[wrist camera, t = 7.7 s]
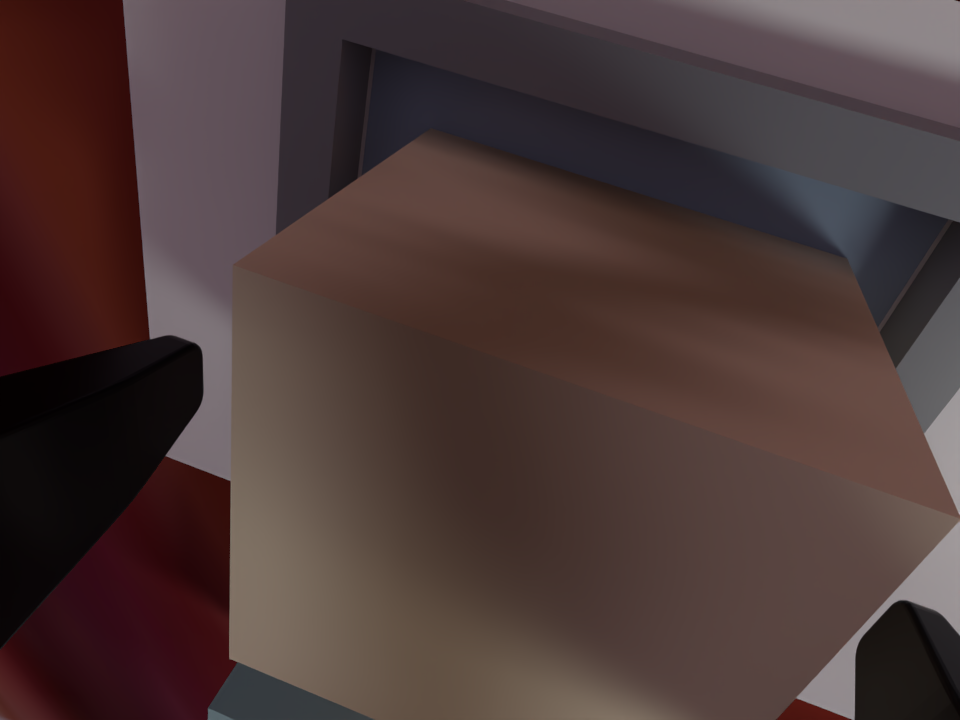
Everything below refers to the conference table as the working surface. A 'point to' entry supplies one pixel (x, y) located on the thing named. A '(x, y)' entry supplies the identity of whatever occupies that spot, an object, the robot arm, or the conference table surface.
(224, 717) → the teal block
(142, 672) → the conference table surface
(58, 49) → the conference table surface
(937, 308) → the grey tray
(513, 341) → the birch block
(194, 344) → the robot arm
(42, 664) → the conference table surface
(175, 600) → the conference table surface
